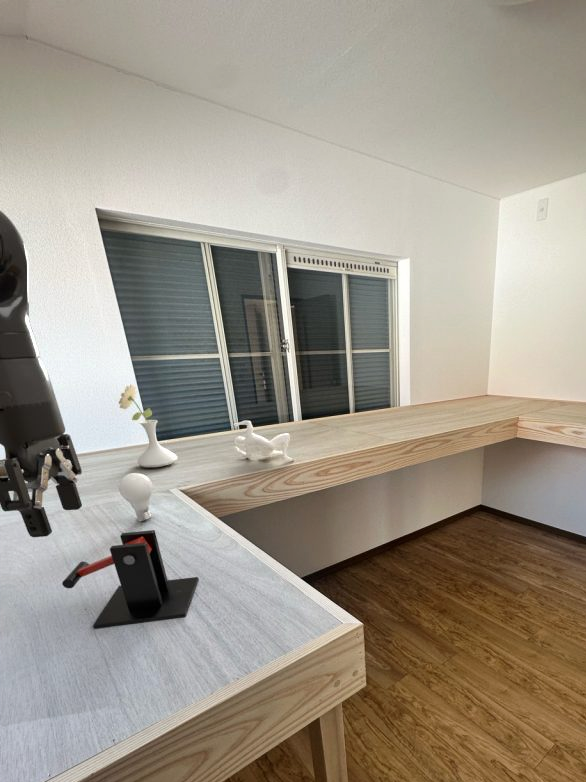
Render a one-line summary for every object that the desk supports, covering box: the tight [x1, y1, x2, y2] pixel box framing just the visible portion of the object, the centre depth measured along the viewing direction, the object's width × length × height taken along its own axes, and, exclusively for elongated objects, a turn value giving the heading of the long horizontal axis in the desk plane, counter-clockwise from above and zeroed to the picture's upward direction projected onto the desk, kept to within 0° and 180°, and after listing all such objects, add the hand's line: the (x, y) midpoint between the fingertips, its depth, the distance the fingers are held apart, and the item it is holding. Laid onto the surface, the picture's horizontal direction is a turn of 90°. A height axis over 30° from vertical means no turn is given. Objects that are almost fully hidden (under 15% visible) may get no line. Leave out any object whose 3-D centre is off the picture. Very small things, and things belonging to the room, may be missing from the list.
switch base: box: [92, 529, 199, 630], centre depth 61 cm, size 12×10×12 cm
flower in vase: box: [118, 383, 178, 468], centre depth 126 cm, size 13×11×25 cm
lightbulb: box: [118, 472, 154, 522], centre depth 91 cm, size 6×6×11 cm
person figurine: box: [233, 419, 292, 461], centre depth 134 cm, size 13×13×18 cm
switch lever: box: [62, 536, 152, 589], centre depth 60 cm, size 11×5×2 cm, turn 101°
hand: (58, 521), depth 56 cm, fingers open, 8 cm apart
